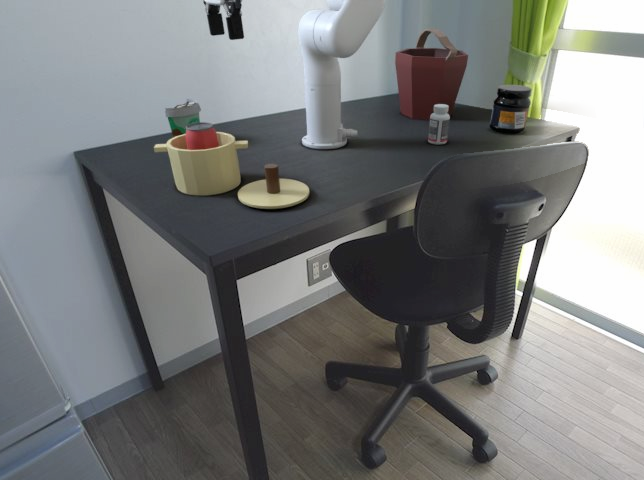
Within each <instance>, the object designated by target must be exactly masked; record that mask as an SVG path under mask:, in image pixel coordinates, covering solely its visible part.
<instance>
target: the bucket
mask: <svg viewBox="0 0 644 480" xmlns="http://www.w3.org/2000/svg"><path fill="white" fill-rule="evenodd" d="M430 34H433V35H434V36H435V37H436V38H437V39H438V41H439V42H440V44H441V46H442V47H443V48H440V47H425V44H426V42H427V40H428V37H429V35H430ZM394 59H395V60H394V65H395V74H396V81H397V92H398V99H399V100H398V101H399V107H400V108H399V109H400V114H401V115H403V116H405V117H408V118H410V119H412V120H426V121H430V116H431V114H433V113H434V111H433V109H434V105H436V104H445V105H448V106H449V108H448V112H447V114H449V116H450V118H451V117H452V113H453V111H454V108H455V104H456V101H457V99H458V95H459V92H460V88H461V85H462V82H463V79H464V76H465V72H466V70H467V66H468V59H469V54H467V53H466V52H465V51H464V50H459V49H457V48H456V46H454V44H453V43H452V42H451V41H450V39H449V37H448V36H447V35H446V34H445V33H444V32H443V31H441V29H438V28H424V30H422V31H421V32H420V34H419V35H418V37H417V40H416V44H415V48H413V47H411V48H404V49H401V50H398V51H396V52H395V58H394Z"/></svg>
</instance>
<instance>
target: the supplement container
mask: <svg viewBox="0 0 644 480" xmlns="http://www.w3.org/2000/svg"><path fill="white" fill-rule="evenodd" d="M530 97H532V87H529V86H526V85H520V84H503V85H499V86H497V91H496V96H495V97H494V99H493V105H492V111H491V115H490V120H489V121H490V122H489V128H490V130H491V131H493V132H494V133H498V134H503V135H518V134H521V133H522V132H524V131H525V130H526V129H525V128H526V124H527V120H528V116H529V110H530V107H531V104H532V100H531V98H530Z"/></svg>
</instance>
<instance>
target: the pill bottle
mask: <svg viewBox="0 0 644 480" xmlns="http://www.w3.org/2000/svg"><path fill="white" fill-rule="evenodd" d="M448 108H449V106H448V105H445V104H436V105H434V109H433V111H434V113H433V114H431V116H430V120H429V125H428V126H429V128H428V136H427V142H428V143H429V144H432V145H445V144H447V143H448V135H449V130H450V128H449V127H450V121H451V117H450V116H449V114H447V112H448Z"/></svg>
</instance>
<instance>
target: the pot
mask: <svg viewBox="0 0 644 480" xmlns="http://www.w3.org/2000/svg"><path fill="white" fill-rule="evenodd" d="M216 133H217V137H218V143H219V147H216V148H210V149H204V150H188V148H187V143H186V134H183V135H179V136H176V137H174V138H173V137H172V138H169V139H168V140H167V141H166V143H156V144H154V146H153V150H154V153H167V154H168V158H169V162H170V166H171V171H172V175H173V180H174V184H175V186H176V189H177V190H178V191H179V192H181V193H182V194H185V195H190V196H200V197H201V196H212V195H219V194H224V193H227V192H230V191H232V190H234V189H236V188H238V187H239V186H240V185H241V183H242V179H241V178H242V177H241V171H240V162H239V156H238V150H240V149H241V150H242V149H249V140H236V137H235V136H234V135H232V134H231V133H227V132H223V131H216Z"/></svg>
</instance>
